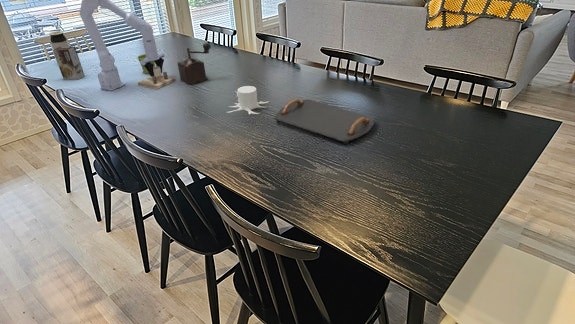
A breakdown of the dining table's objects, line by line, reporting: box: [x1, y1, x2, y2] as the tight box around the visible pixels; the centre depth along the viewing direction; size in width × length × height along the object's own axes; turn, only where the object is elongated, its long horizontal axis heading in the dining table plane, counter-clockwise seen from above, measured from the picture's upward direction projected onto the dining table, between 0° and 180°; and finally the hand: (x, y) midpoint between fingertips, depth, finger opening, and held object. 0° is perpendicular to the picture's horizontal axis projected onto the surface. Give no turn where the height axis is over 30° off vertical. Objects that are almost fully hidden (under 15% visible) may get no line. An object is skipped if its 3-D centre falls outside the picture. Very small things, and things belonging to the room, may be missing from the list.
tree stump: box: [227, 85, 270, 115], centre depth 165 cm, size 20×19×8 cm
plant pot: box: [136, 53, 156, 74], centre depth 208 cm, size 9×9×9 cm
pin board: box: [137, 71, 176, 90], centre depth 194 cm, size 13×13×5 cm
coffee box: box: [52, 45, 86, 81], centre depth 202 cm, size 9×6×16 cm
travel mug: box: [48, 30, 69, 50], centre depth 225 cm, size 8×8×18 cm
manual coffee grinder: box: [177, 42, 212, 86], centre depth 193 cm, size 16×11×18 cm
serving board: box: [274, 98, 375, 145], centre depth 149 cm, size 39×23×6 cm, turn 52°
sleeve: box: [153, 65, 163, 79], centre depth 197 cm, size 5×5×5 cm
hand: (156, 74), depth 197 cm, fingers closed on sleeve, 5 cm apart
